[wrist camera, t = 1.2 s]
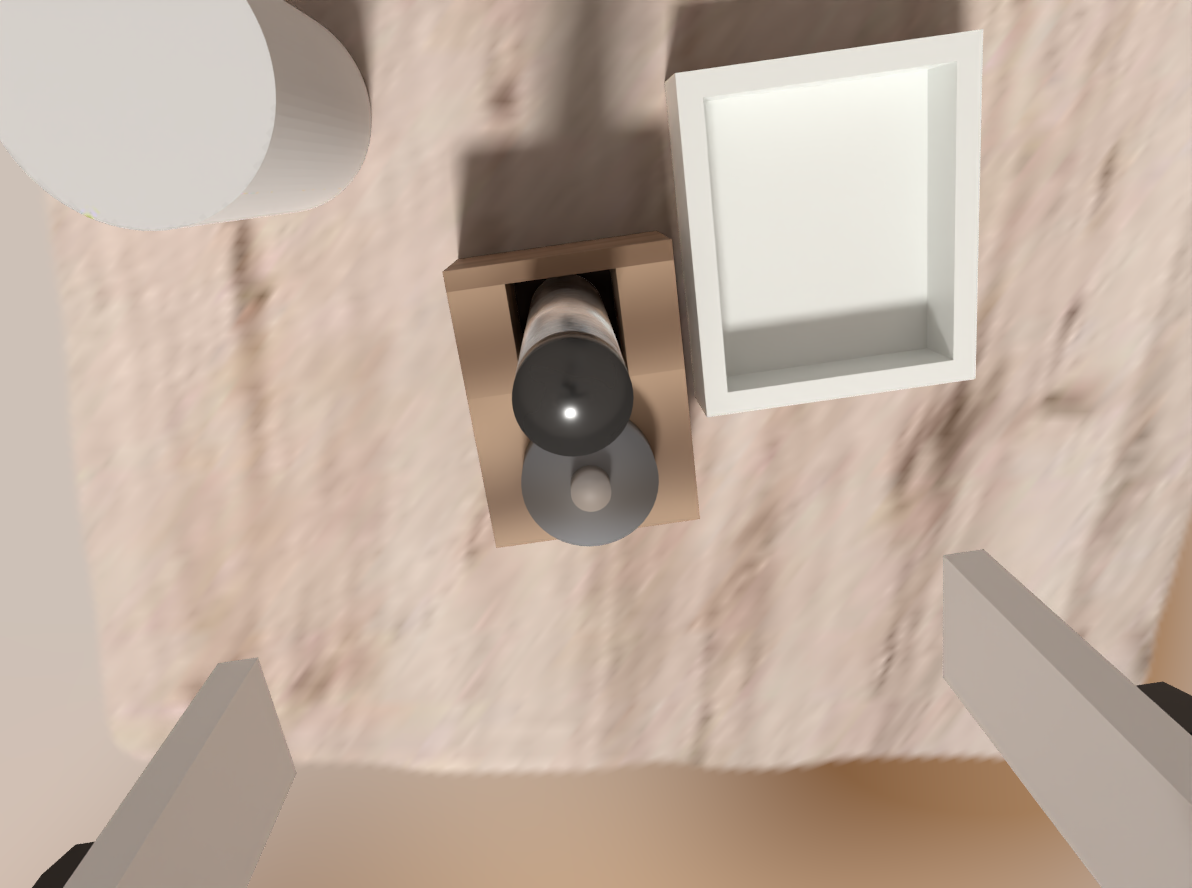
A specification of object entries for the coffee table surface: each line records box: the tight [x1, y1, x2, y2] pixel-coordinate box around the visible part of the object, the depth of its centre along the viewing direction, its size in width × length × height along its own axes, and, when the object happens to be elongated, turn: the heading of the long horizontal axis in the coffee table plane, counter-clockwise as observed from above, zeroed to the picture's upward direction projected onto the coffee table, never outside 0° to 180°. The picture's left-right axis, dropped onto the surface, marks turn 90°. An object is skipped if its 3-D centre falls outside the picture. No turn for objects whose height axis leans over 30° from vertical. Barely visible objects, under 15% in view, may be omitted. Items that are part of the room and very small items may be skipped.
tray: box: [665, 29, 983, 417], centre depth 34 cm, size 14×12×3 cm
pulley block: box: [443, 231, 700, 548], centre depth 34 cm, size 12×9×8 cm
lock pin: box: [512, 274, 634, 457], centre depth 29 cm, size 3×3×15 cm
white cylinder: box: [0, 0, 371, 231], centre depth 28 cm, size 8×8×12 cm
